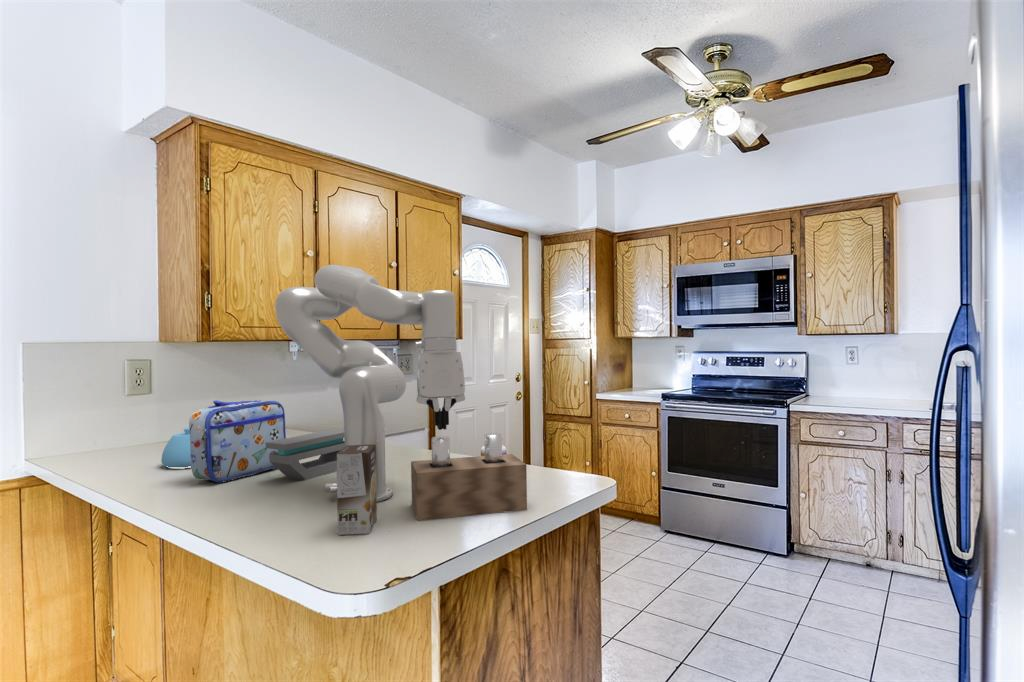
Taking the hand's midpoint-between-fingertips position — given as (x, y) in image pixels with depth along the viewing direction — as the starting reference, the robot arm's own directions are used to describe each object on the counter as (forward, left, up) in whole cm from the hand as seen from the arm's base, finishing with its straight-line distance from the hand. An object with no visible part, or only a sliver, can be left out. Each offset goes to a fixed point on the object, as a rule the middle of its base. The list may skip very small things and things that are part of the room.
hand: (441, 428), depth 125 cm
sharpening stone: (-30, +46, -18) cm, 58 cm away
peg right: (+12, 0, -11) cm, 16 cm away
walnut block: (+6, 0, -18) cm, 19 cm away
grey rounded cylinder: (0, 0, -11) cm, 11 cm away
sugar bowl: (-68, +72, -18) cm, 101 cm away
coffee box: (-18, -6, -18) cm, 26 cm away
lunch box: (-50, +51, -18) cm, 74 cm away
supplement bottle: (+16, +16, -18) cm, 29 cm away
